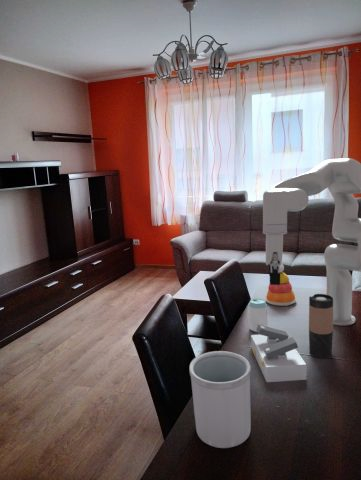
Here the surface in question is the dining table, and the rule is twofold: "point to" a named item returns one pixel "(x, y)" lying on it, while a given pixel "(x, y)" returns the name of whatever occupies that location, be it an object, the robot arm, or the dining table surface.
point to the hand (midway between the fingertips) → (274, 280)
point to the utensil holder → (221, 398)
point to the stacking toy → (281, 291)
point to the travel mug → (320, 325)
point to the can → (257, 314)
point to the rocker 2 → (280, 348)
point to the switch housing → (278, 361)
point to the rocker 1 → (272, 332)
